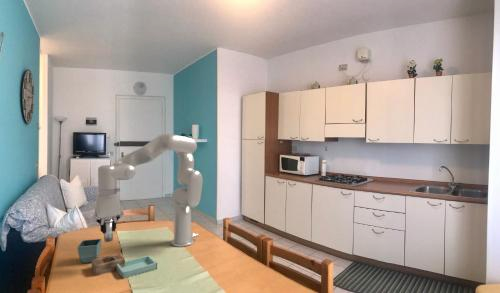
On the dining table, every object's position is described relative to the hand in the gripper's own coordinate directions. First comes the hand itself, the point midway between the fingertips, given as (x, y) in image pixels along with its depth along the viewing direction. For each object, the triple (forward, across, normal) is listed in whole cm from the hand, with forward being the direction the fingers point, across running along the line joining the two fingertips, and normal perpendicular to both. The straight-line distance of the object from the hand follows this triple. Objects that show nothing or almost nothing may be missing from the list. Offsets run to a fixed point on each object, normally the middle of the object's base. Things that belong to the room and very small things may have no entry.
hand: (108, 231), depth 133 cm
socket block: (+17, 0, 0) cm, 17 cm away
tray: (+17, -10, +9) cm, 22 cm away
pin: (+4, 0, 0) cm, 4 cm away
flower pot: (+17, +5, -14) cm, 23 cm away
